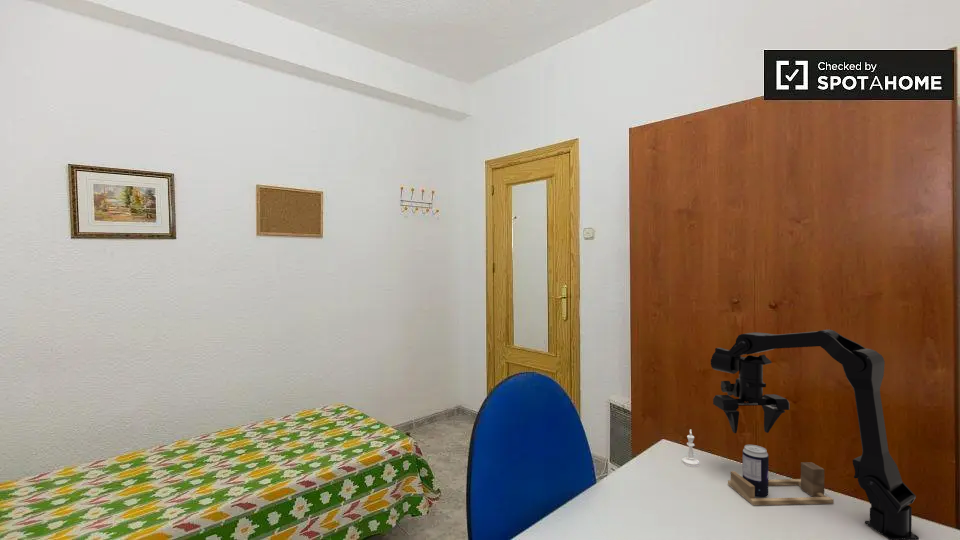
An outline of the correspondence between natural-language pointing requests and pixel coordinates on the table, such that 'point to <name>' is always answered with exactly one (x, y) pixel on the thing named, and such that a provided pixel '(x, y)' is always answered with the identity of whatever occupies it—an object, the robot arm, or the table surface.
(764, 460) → the beverage can
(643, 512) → the table surface
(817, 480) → the wooden frame
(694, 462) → the chess piece
